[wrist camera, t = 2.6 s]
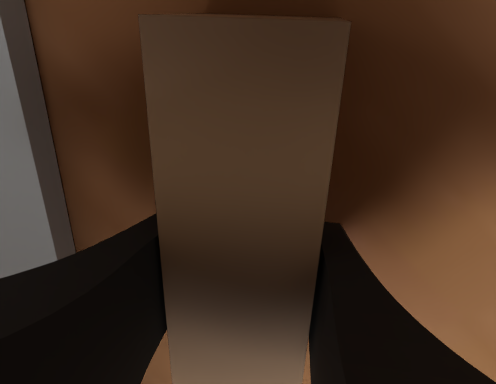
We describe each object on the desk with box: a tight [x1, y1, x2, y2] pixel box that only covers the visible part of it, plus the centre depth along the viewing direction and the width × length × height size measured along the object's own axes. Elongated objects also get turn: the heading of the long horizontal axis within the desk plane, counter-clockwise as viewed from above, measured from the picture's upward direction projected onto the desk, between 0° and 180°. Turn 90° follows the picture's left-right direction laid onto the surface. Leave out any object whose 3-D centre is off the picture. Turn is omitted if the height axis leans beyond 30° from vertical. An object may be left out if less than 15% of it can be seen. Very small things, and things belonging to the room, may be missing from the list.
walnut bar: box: [138, 13, 351, 384], centre depth 10 cm, size 12×4×4 cm, turn 178°
